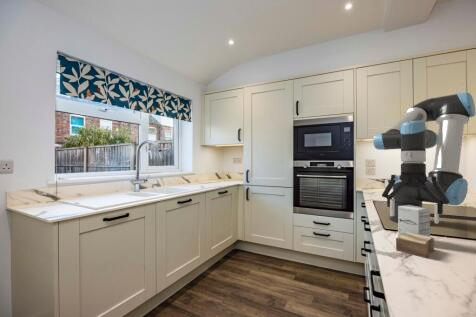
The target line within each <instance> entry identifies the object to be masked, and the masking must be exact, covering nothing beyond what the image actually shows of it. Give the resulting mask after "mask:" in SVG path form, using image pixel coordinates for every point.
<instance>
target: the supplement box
mask: <svg viewBox="0 0 476 317" xmlns="http://www.w3.org/2000/svg"><path fill="white" fill-rule="evenodd" d="M405 232H409V233H414V234H419V235H424V236H429V237H431V208H429V207H424V206H422V207H418V206H412V205H404V206H398V222H397V237H399V236H401V235H402V234H404V233H405Z"/></svg>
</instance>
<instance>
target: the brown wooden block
mask: <svg viewBox="0 0 476 317" xmlns="http://www.w3.org/2000/svg"><path fill="white" fill-rule="evenodd" d="M395 244H396V245H395V247H396V248H395V251H398V252H402V253H405V254H410V255H413V256H417V257H421V258H425V259H427V258H428V257H429V256H430V255H431V254H432V253H433V252H434V251H435V238H434V237H433V236H430V237H429V236H424V235H419V234H414V233H409V232H405V233H404V234H402V235H401V236H399V237H398V236H397V237H396V239H395Z"/></svg>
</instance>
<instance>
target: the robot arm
mask: <svg viewBox="0 0 476 317" xmlns="http://www.w3.org/2000/svg"><path fill="white" fill-rule="evenodd" d="M475 116H476V106H475V102H474V98H473V96H472V95H471V93H470V92H468V91H467V92H460V93H459V92H457V93H456V94H455V93H453V94H449V95H444V96H437V97H431V98H427V99H425V100H422V101H420V102H418V103H416V104H414V105H413V106H411V107H410V108H408V109H407V110H406V112H405V113H404V115H403V116H402V117H401V118H400V119H399V120H398V121H397V122H395V123H394V124H393V125H392V126H391V127H390V128H389V129H388V130H386V131H385V132H380V133H376V134H375V135H374V136H373V139H372V142H373V147H374V148H375V149H376V150H379V151H380V150H382V151H383V150H384V151H386V150H388V151H389V150H400V161H401V164H400V174H398V175H397V174H391V175H390V180H389V182H388V184H387V185H386V187H385V189H384V191H383V192H382V194H381V197H383V198H385V199H386V201H387V202H386V204H387V208H389V215H388V216H389V218H388V219H389V221H392V222H395V223H398V206H404V205H412V206H418V207H423V202H424V203H431V204H434V205H433V206H434V208H433V209H434V210H433V211H434V212H433V213H434V214H433V215H434V219H433V220H434V224H436V225H437V224H439V223H440V215H443V213H444V206H459V205H461V204H463V202H465V199H466V197H467V194H468V187H469V186H468V185H469V183H468V180H467V179H465V178H464V176H463V174H462V173H461V172H459V170H460V164H461V155H462V154H461V152H462V144H463V136H464V127H465V125H466V124H467V123H469V121H470V118H473V117H475ZM427 122H436V123H437V124H438V125H439V127H438V133H436V132H435V131H433V130H431V129H427V127H426V126H427V125H426V123H427ZM435 146H436V148H435V155H434V162H433V169H431V170H430V171H429V172H428V175H427V163H425V162H426V161H427V150H426V149H431V148H434V147H435ZM391 190H392V191H391ZM390 191H391V192H390Z"/></svg>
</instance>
